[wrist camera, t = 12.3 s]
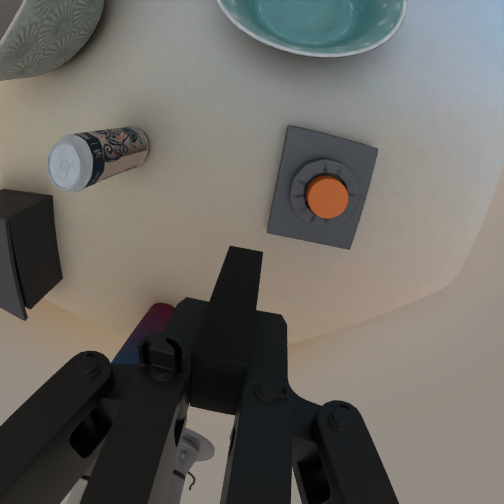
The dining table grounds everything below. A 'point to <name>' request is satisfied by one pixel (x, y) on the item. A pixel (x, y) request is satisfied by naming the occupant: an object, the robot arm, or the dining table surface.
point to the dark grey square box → (32, 242)
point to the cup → (144, 332)
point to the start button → (327, 196)
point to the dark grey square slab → (9, 275)
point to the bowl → (318, 24)
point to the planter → (43, 34)
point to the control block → (308, 168)
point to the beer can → (95, 156)
